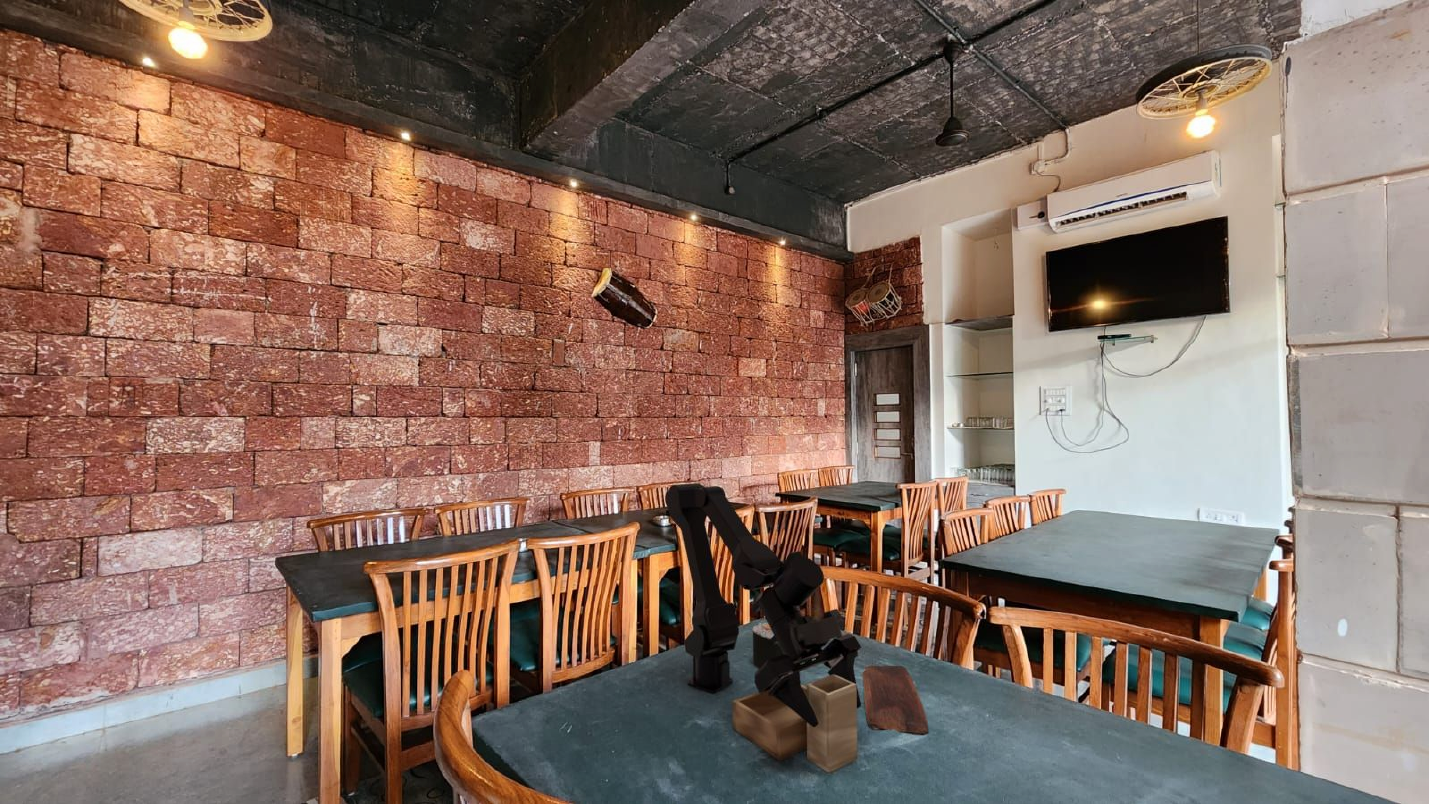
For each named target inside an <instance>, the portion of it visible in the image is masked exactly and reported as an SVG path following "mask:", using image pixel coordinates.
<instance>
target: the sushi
mask: <svg viewBox="0 0 1429 804" xmlns="http://www.w3.org/2000/svg"><path fill="white" fill-rule="evenodd" d="M773 636H774V634H773V632H772V630H771V628H770V626H769V624H768V622H763V623H761V622H759V623H758V625H754V626H753V627H752V663H753V666H754V667H755V668H757V669H758V670H759V669H760V668H761V667H762V666H763V664H764V663H765V662H766V661H767V660H768V659H771V658H774V657H777V656H781V655H784V653H783V651H782V649H781V647H780V645H779V643H777V644H774V645H773V643H772V641H771V638H772V637H773Z"/></svg>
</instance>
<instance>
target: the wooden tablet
mask: <svg viewBox="0 0 1429 804" xmlns="http://www.w3.org/2000/svg"><path fill="white" fill-rule="evenodd" d="M867 666H868V667H866V666H864V668H865V669H866V670H865V671H864V672H863V671H862V673H863V674H862V681H863V682H862V683H863V692H864V693H863V694H864V695H863V696H864V698H863V699H864V707H865V717H866V722H867V725H868V727H869V728H870V729H871V730H872V731H873V730H875V731H884V730H886V731H887V730H889V731H895V730H896V731H895V732H899V733H903V734H907V735H917V736H918V735H919V736H920V735H921V736H922V735H925V734H927V733H928V731H929V725H928V724H929V723H928V719H927V714H926V712H925V711H926V710H925V708H924V706H923V703H922V700H921V698H920V696H919V693H918V691H917V689H916V686H915V684H914V681H913V678H912V677H911V675H910V673H909V671H908V670H907V669H906V667H904V666H902V665H867ZM892 729H894V730H892Z"/></svg>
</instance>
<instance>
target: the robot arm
mask: <svg viewBox="0 0 1429 804" xmlns="http://www.w3.org/2000/svg"><path fill="white" fill-rule="evenodd" d="M664 495H665V496H664V501H665V502H664V503H665V505H666V507H667V510H668V514H669V517H670V519H671V520H672V521H673V523H675V524H676V525H677V527H678V528H679V529H680V531H681V535H682V540H683V545H684V549H685V554H686V558H687V562H688V563H687V564H688V567H689V568H688V569H689V573H690V577H691V582H692V586H693V592H694V595H695V601H696V602H695V603H696V604H695V607H694V610H693V614H692V616H691V621H692V623H691V624H692V630H691V631H690V633H689V634H688V635H687V637H686V638H685V639H684V641H683V643H684V648H685V652H686V653H685V654H688V655H689V656H691V657H692V678H691V679H690V680H688V681H687V685H688V686H691V687H693V688H697V689H700V690H702V691H705V692H708V693H711V694H715V693H717V692H719V691H720V690H722V689H724V688H725V687H726V686H729V685H730V684H731V683H733V681H734V679H733V678H732V677H731V672H730V671H731V670H730V669H731V667H730V665H731V663H730V661H729V651H733V650H735V648H736V644H737V641H738V636H739V634H740V627H739V625H740V622H739V619H738V616H737V613H736V612H737V611H736V606H735V604H734V603H733V602H729V603H728V601H726V599H725V598H724V597H723V596H722V593H721V588H720V585H719V579H718V575H717V571H716V567H715V562H714V561H715V560H714V559H713V555H712V549H711V545H710V540H709V535H708V532H707V528H706V522H707V518H708V519H709V522H711V524H712V526H713V528H714V529H715V530H716V532H717V533H718V535H719V538H721V540H722V541H723V543H724V545H725V546H726V548H727V550H728V551H729V553H730V555H731V569H732V571H733V573H734V576H735V578H736V579H737V582H738V584H739V585H740V586H741V587H742V589H743V590H744V591H745V590H746V591H754V590H759V589H762V588H763V589H764V588H765V589H764V590H763V591H762V593H759V594H755V595H754V596H753V598H754V599H753V602H752V605H751V611H752V613H757V612H760V611H761V612H762V614H763V617H764V619H765V620H766V623H767V624H769V626H770V628H771V630H772V632H773V634H774V636H773V637H772V638H771V641H772V643H773V645H774V644H777V643H779V645H780V647H781V649H782V651H783V653H784V655H781V656H777V657H774V658H771V659H768V660H767V661H766V662H765V663H764V664H763V666H762V667H761V668H760V669H759V668H758V670H757V671H756V672H755V673H754V685H755V687H756V689H757V691H758V692H759V693H760V694H762V693H764V692H767V691H769V692H768V696H769V697H771V696H774V697H775V698H777V699H778V700H780V701H781V702H782V703H784V704H785V705H787V706H788V707H789V708H791V709H792V710H793V711H794V712H796V713H797V714H798V715H799V716H800V717H802V718H803V719H804V720H805V721H806V722H807V723H809V724H810V725H811V726H812V727H816V726H817V725H818V724H819V723H818V720H817V718H816V715H815V713H814V711H813V709H812V707H811V705H810V703H809V701H808V699H807V697H806V695H805V693H804V691H803V689H802V687H801V684H802V683H801V673H800V672H802V671H805V670H808V669H811V668H814V667H816V666H819V665H824V666H825V667H827V668H829V670H828V671H827V675H828V676H830V675H833V674H835V675H837V676H839V677H841V678H844V679H846V680H848V681H850V682H852V683H855V684H856V689H857V710H858V709H860V708H861V707H862V702H861V698H860V693H859V692H860V691H859V688H858V684H857V680H856V674H855V669H854V668H855V667H854V665H855V660H856V658H857V657H858V655H859V652H858V651H859V650H860V649H861V648H862V646H861V645H860V642H859V641H858V639H857V638H856V636H855V635H853V634H850V633H846V634H844V635H843V634H842V633H843V632H842V630H845V629H846V620H845V619H844V617H843V615H842V614H841V612H840V611H839V609H838V608H835V609H831V610H828V611H824V612H823V618H822V619H819V620H816V621H815V620H814V619H813V616H811V615H810V614H806V615H803V613H802V611H801V609H800V607H799V606H803V605H804V604H806V602H807V601H808V600H809V599H810V598H811V597H812V596H813V594H814V593H815V592H816V591H817V590H818V589H819V588H821V585H823V583H824V580H825V575H824V572H823V569H822V568H821V566H820V565H819V564H817V563H816V562H815V561H814V560H813V559H811V558H809V557H808V556H807V557H806V556H804V555H803V554H802V552H801V551H800V550H797V551H791V552H790V553H788V555H787V556H786V558H785V560H784V561H783V560H782V559H780V557H778V556H777V554H776V553H775V552H774V550H772V549H771V548H770V547H769V546H768V545H767V544H765V543H763V542H762V541H759V540H758V539H756V538H755V537H754V536H753V535H752V533H751V532H750V530H749V528H748V527H747V526H746V524H745V523H744V522H743V520H742V519H741V517H740V516H739V514H738V513H737V511H736V510H735V508H734V507H733V506H732V504H731V502H729V500H728V498H727V496H726V491H725V489H724V488H723V487H722V486H719V485H712V486H711V485H709V486H705V485H702V484H701V483H699V482H693V483H682V484H681V483H679V484H672V485H670V486H669V488H668V489H667V491H666V492H665V494H664ZM823 647H824V648H823ZM822 648H823V649H822Z"/></svg>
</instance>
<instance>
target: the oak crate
mask: <svg viewBox="0 0 1429 804" xmlns="http://www.w3.org/2000/svg"><path fill="white" fill-rule="evenodd" d="M801 687H802V689H803V691H804V693H805V695H806V697H807V691H806V685H803V684H802V683H801ZM768 692H769V691H767V692H764V693H762V694H760V693H759V691H758V692H755V693H752V694H748V695H746V696H744V697H741V698H738V699H735V700H732V730H733V731H735V732H736V733H738V734H740V735H741V736H743V737H744V738H746V739H747V740H748V741H750V742H751V743H753V744H754V745H756V746H757V747H758V748H760V749H762V750H763V751H764V752H766V753H768V755H770V756H772V757H773V758H775V759H776V760H777V761H779V762H781V761H783V760H785V759H787V758H790V757H791V756H794V755H796V754H798V753H800V752H802V751H803V752H804V751H805V750H807V722H806V721H805V720H804V719H803V718H802V717H800V716H799V715H798V714H797V713H796V712H794V711H793V710H792V709H791V708H789V707H788V706H787V705H785V704H784V703H782V702H781V701H780V700H778V699H777V698H775V697H774V696H771V697H769V696H768Z"/></svg>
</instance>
